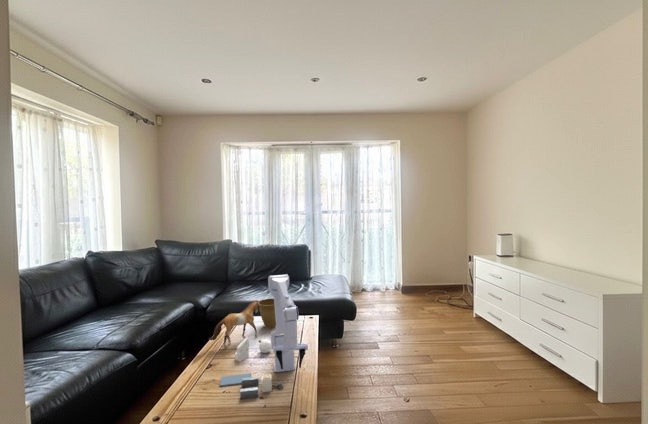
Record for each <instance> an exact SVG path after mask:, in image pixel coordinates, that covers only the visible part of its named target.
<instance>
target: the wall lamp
mask: <svg viewBox="0 0 648 424" xmlns="http://www.w3.org/2000/svg"><path fill="white" fill-rule="evenodd" d="M283 385H284V384H283V380H279V381H278V384H277V385H276V384H275V385H272V373H268V374H261V393H267V392H272V391H273V390H272V389H275V388H278V389H279V390H280V389H283V387H284V386H283Z"/></svg>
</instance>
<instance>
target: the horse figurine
mask: <svg viewBox="0 0 648 424" xmlns="http://www.w3.org/2000/svg"><path fill="white" fill-rule="evenodd" d="M259 301H260V300H259ZM259 301H258V300H254V301H251V302H250V303H249V304H248V305H247V306H246V307H245V308H244V309H243V310H242V311H241V312H240V313H228V314H227V316H225V317H224V318H223V319H222V320H220V321H219V322H218V323H217V325H216V326H215V327H214V331H213V335H212V336H211V337H209V338H208V340H209V341H216V340H217V339H218V337H219V336H220V334H221V332H222V329H223V328H222V327H223V326H225V329H226V330H225V332H224V337H223V339H224V340H223V344H222V346H223V349H224V350H225V349H227V348H228V346H227V345H226V341H227V340H228V341H227V342H228V344H231V343H232V340H231V338H230V334H231V332H232V330H233V328H235V326H243V329H242V337H243V338H242V339H243V340H244V339H245V338H246V337H247V336H245V333H246V326H247V324H249V325H250V326H251V327H252V329H253V330H254V337H256V338H258V331H257V327H256V325H255V322H254V320H255V317H254V312H255V314H256V313H258V312H259V310H258V309H259V305H258V302H259Z"/></svg>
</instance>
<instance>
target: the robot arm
mask: <svg viewBox="0 0 648 424" xmlns="http://www.w3.org/2000/svg"><path fill="white" fill-rule="evenodd" d="M267 282H268V283H267V284H268V293H269V294H271V295H272V298H274V306H275V318H276V326H275V327H276V328H275V329H274V330H273V331H272V333H270V334H271V335H270V336H271V337H270V338H271V339H270V341H271V346H272V348H271V350H272V351H273V353H274V363H273V372H274V373H281V372H290V371H295V365H296V364H295V363H296V361H295V360H296V359H295V351H298V353H299V355H298V358H299V361H298V362H299V363H298V367H299V369H301V368H302V363H303V360H304V357H305V355H306V351H308V348H309V346H308V343H298V320H299V308H298V306H296V304H295V303H294V300H293V298H292V297H293V296H292V295H290V294H289V291H288V288H289V286H290V276H289V275H288V273H286V274H277V275H275V274H274V275H269V276H268V278H267Z"/></svg>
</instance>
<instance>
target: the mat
mask: <svg viewBox="0 0 648 424" xmlns="http://www.w3.org/2000/svg"><path fill="white" fill-rule="evenodd" d="M249 377H252V372H250V373H242V374H241V373H240V374H233V375H232V374H231V375H223V376H221V379H220V383H219V387H221V388H222V387H228V386H236V385H237V386H239V385H242V378H249Z"/></svg>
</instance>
